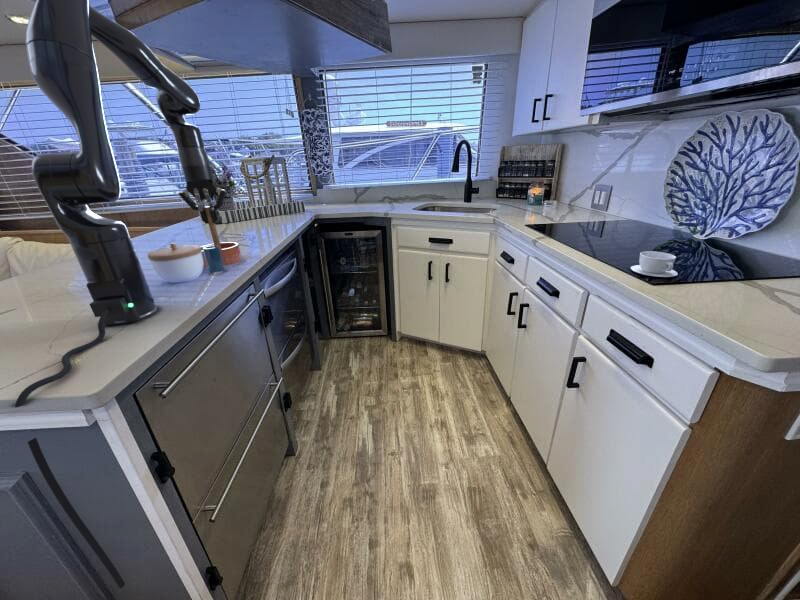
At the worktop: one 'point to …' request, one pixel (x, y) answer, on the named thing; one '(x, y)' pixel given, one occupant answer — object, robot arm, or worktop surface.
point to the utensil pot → (213, 258)
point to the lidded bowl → (177, 263)
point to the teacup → (655, 264)
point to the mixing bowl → (226, 253)
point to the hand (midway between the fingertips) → (211, 222)
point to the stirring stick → (212, 227)
